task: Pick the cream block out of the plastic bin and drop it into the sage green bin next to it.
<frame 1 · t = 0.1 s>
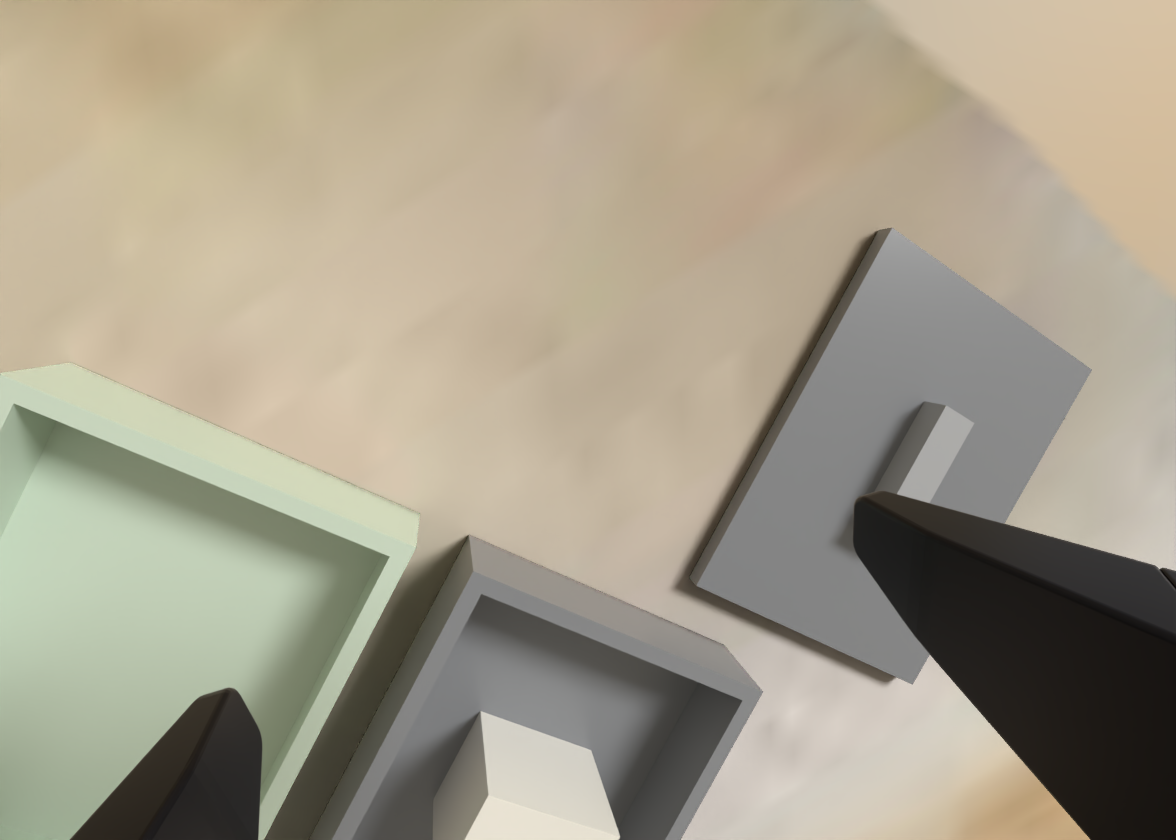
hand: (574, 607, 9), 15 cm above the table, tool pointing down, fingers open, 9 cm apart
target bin: (156, 645, 23), on the table
bin lid: (890, 468, 28), on the table
cream block: (513, 774, 26), point 1 cm above the table, touching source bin
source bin: (512, 764, 26), on the table
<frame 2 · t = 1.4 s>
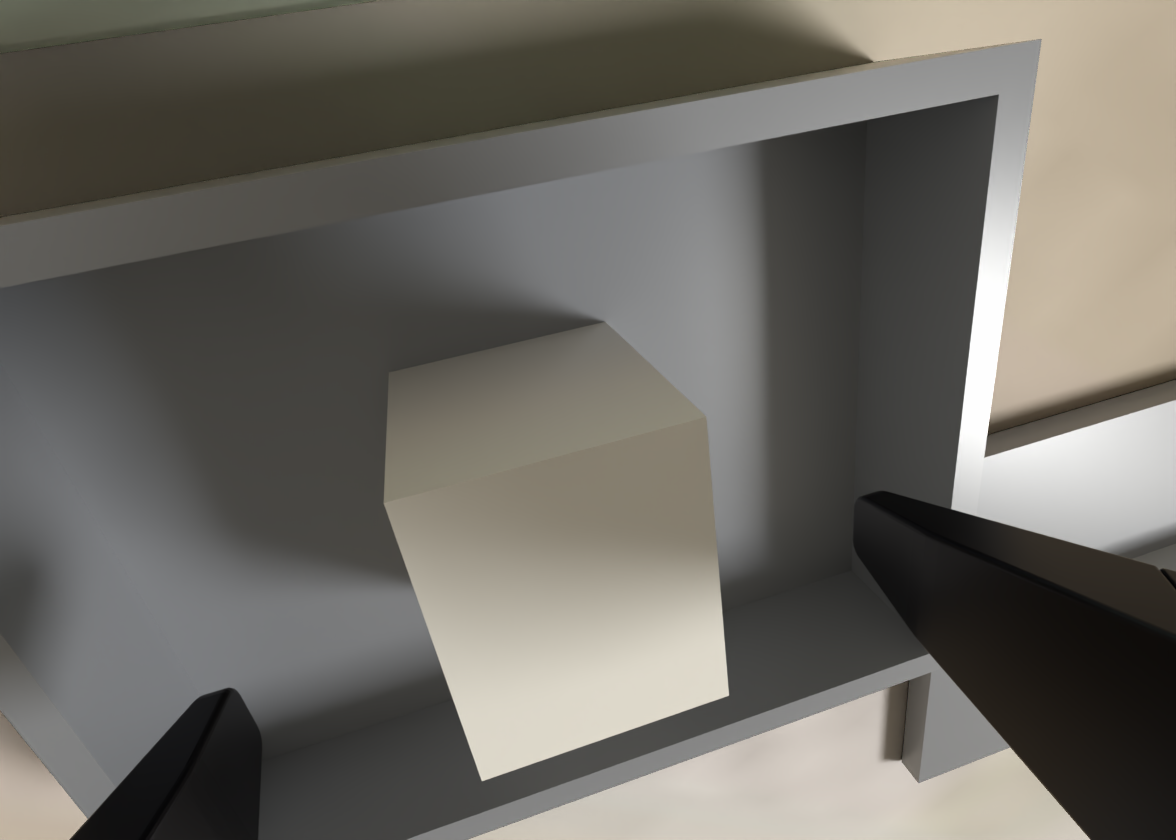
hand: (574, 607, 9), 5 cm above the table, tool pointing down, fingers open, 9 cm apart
bin lid: (1136, 551, 20), on the table
cream block: (527, 464, 13), point 1 cm above the table, touching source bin
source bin: (521, 451, 13), on the table
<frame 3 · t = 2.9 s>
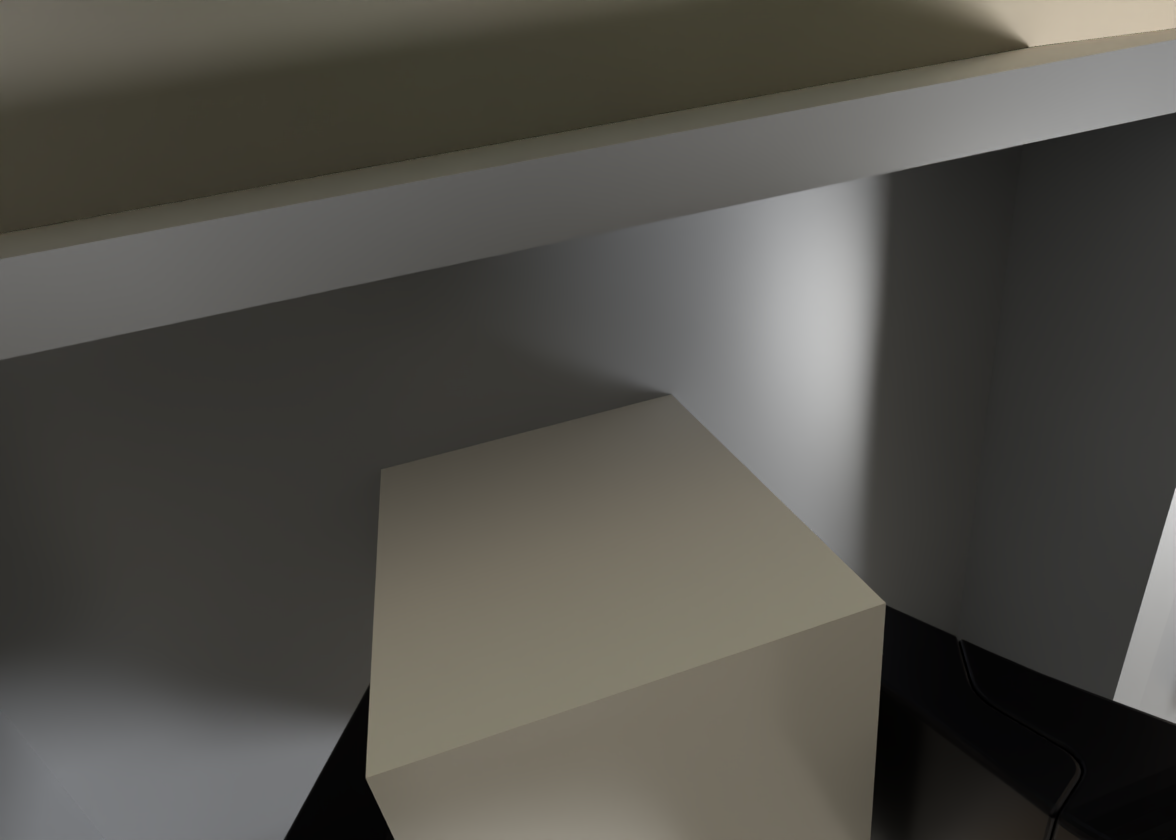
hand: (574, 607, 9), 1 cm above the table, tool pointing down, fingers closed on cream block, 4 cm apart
cream block: (563, 575, 10), point 1 cm above the table, touching gripper, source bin
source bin: (554, 552, 10), on the table
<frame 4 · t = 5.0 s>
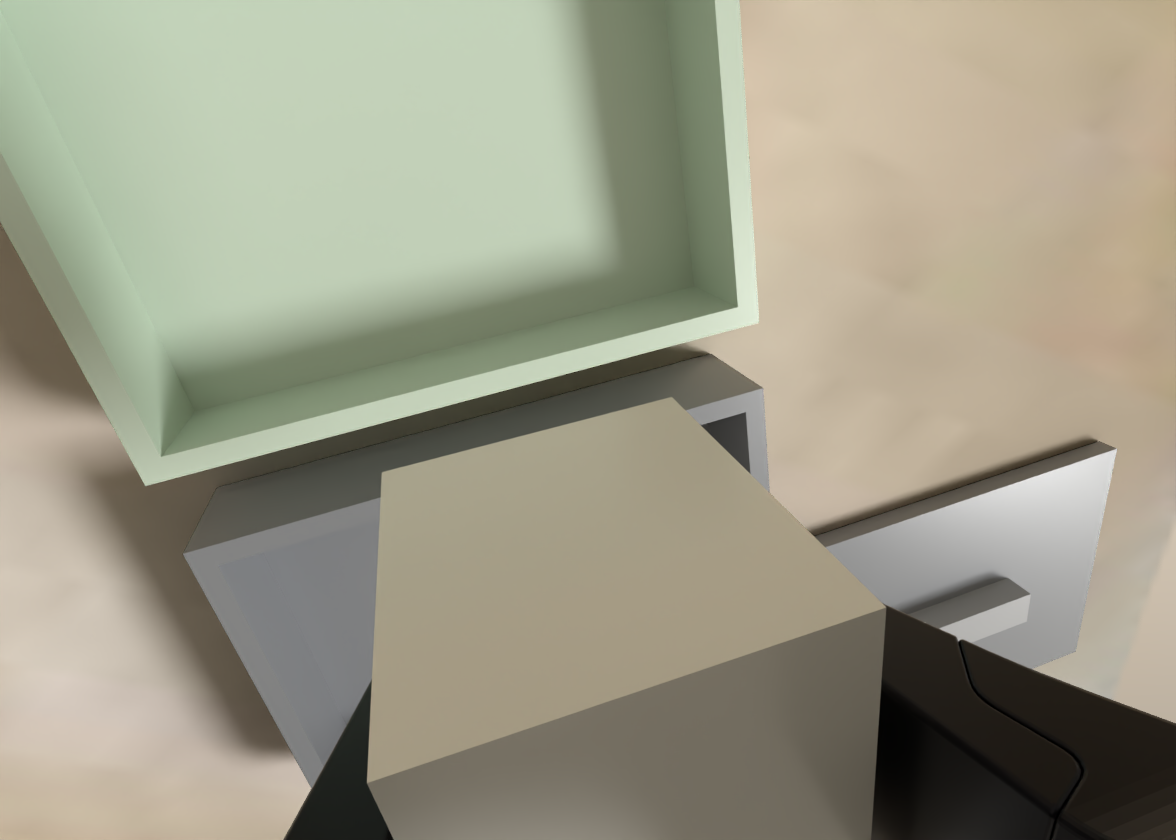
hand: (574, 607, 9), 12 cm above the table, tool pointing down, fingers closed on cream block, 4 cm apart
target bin: (406, 147, 17), on the table
bin lid: (937, 600, 30), on the table
cream block: (563, 578, 10), point 11 cm above the table, touching gripper
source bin: (521, 565, 23), on the table
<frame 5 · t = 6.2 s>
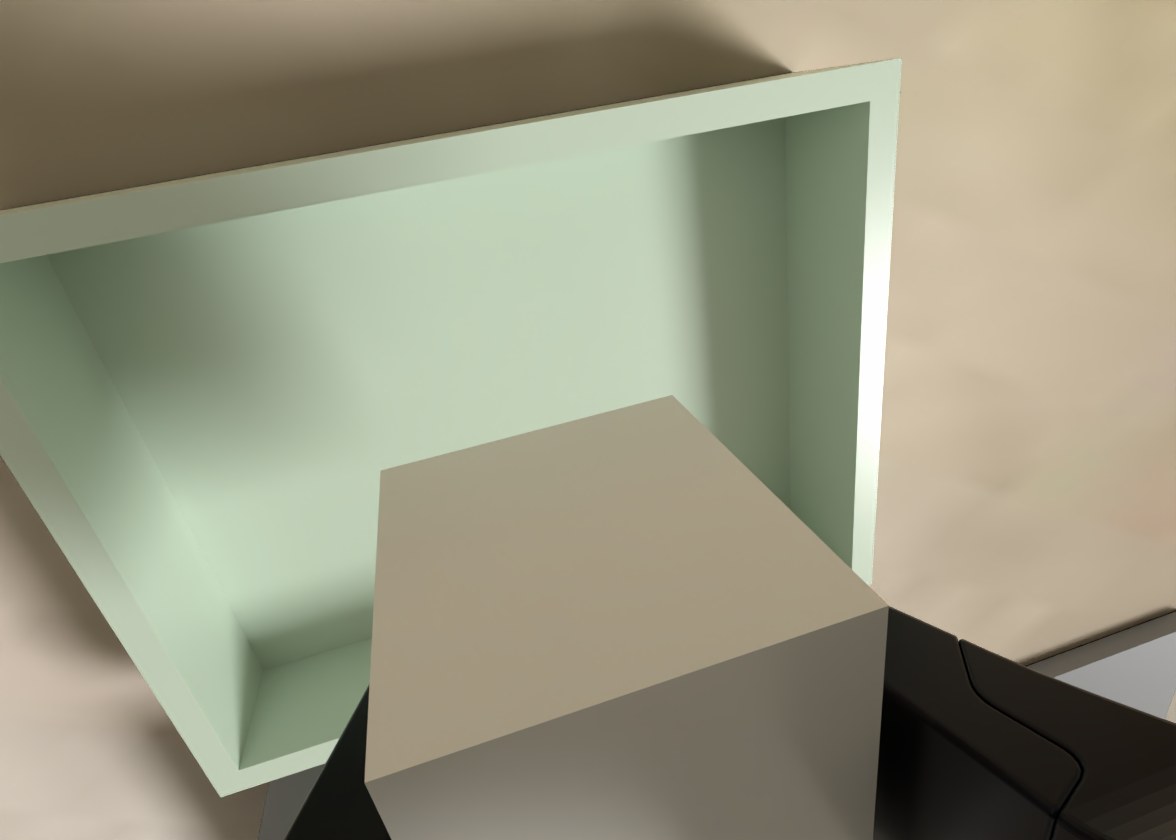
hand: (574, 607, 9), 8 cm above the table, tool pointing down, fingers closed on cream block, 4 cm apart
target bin: (500, 399, 16), on the table
bin lid: (1001, 763, 29), on the table
cream block: (563, 577, 10), point 7 cm above the table, touching gripper
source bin: (587, 769, 22), on the table
when the fingers open (3 cm above the table, at t = 7.2 s): cream block drops 2 cm, resting on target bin.
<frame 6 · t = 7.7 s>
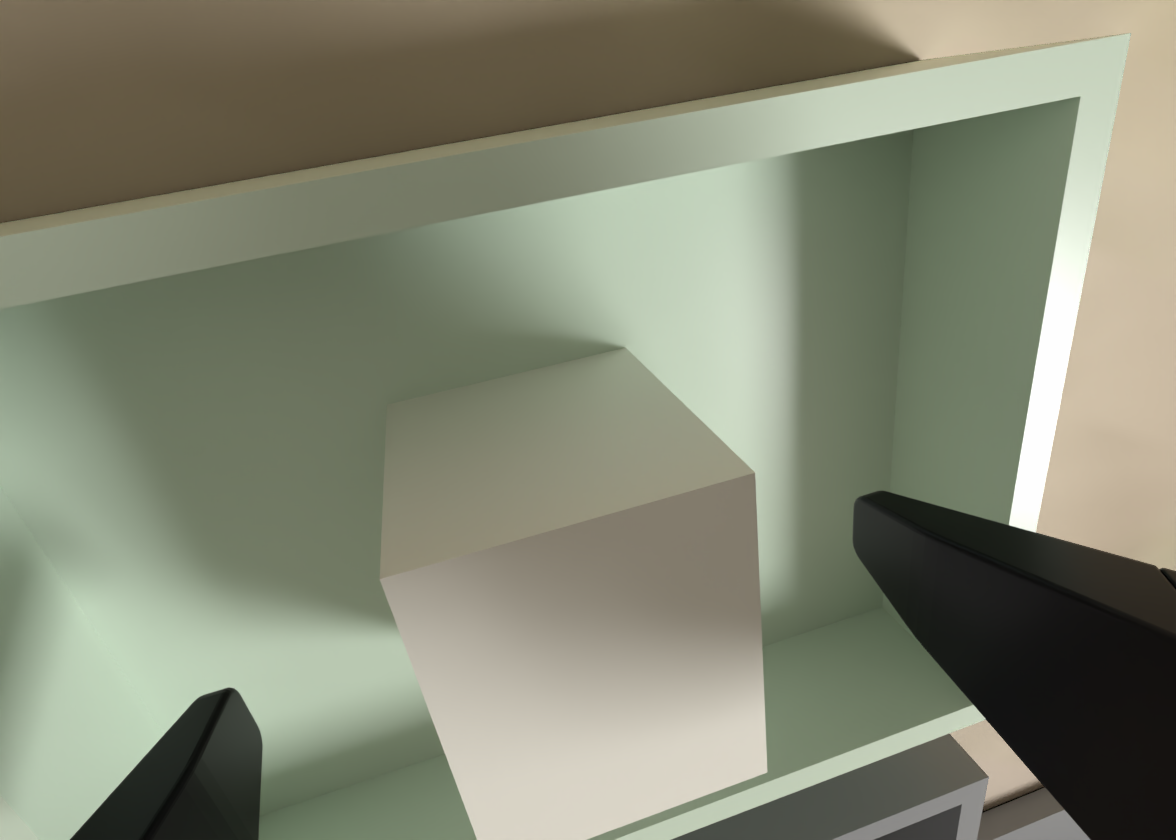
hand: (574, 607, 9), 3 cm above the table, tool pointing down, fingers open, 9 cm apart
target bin: (530, 485, 12), on the table
cream block: (538, 502, 12), point 1 cm above the table, touching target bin
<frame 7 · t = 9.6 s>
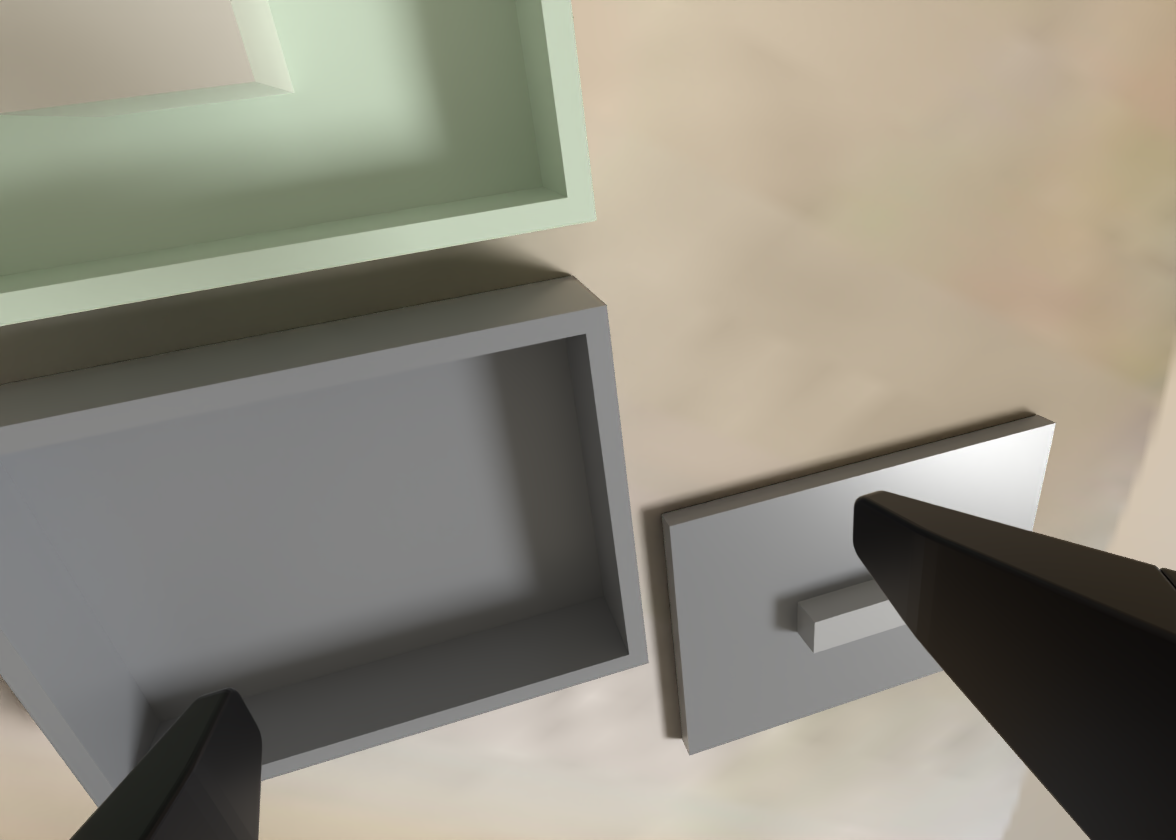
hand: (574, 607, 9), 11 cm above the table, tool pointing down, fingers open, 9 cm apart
bin lid: (851, 584, 27), on the table
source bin: (350, 514, 20), on the table
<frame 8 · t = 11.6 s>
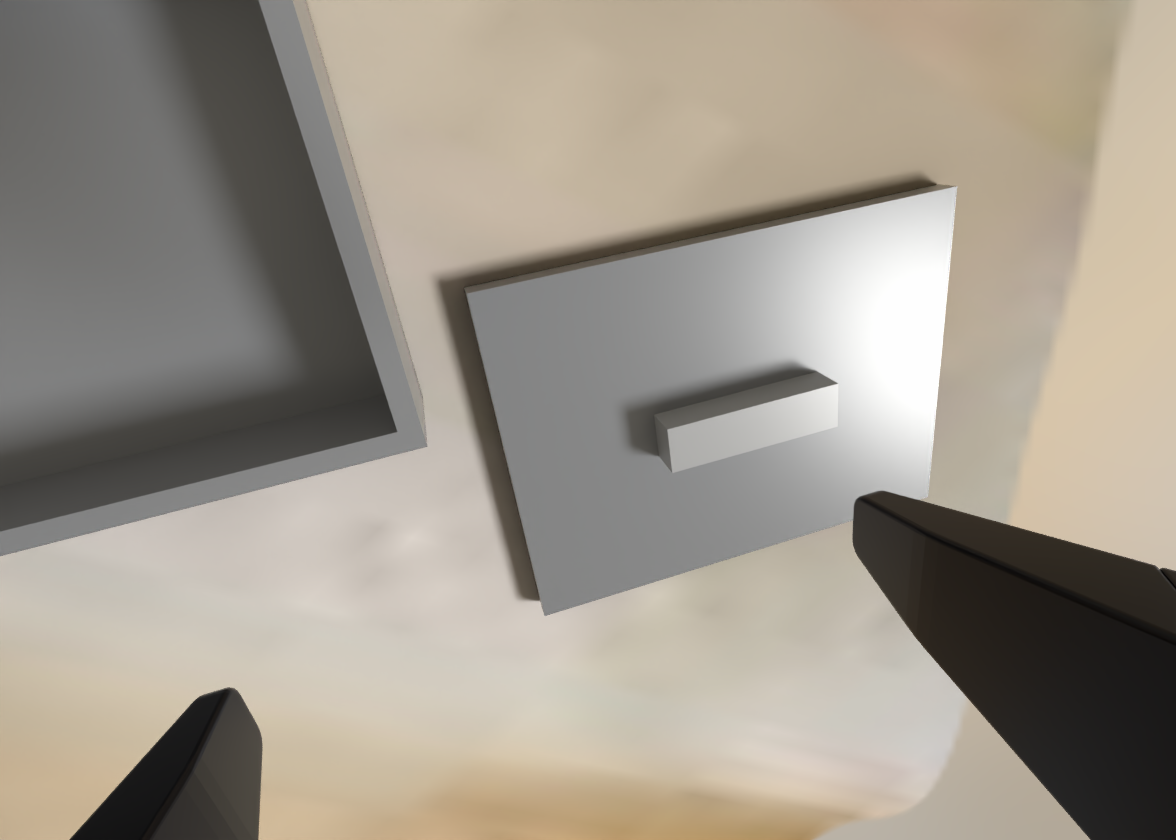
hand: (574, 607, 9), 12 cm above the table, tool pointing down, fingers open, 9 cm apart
bin lid: (728, 404, 23), on the table
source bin: (31, 255, 16), on the table
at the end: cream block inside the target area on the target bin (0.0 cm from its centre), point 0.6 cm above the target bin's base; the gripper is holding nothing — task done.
